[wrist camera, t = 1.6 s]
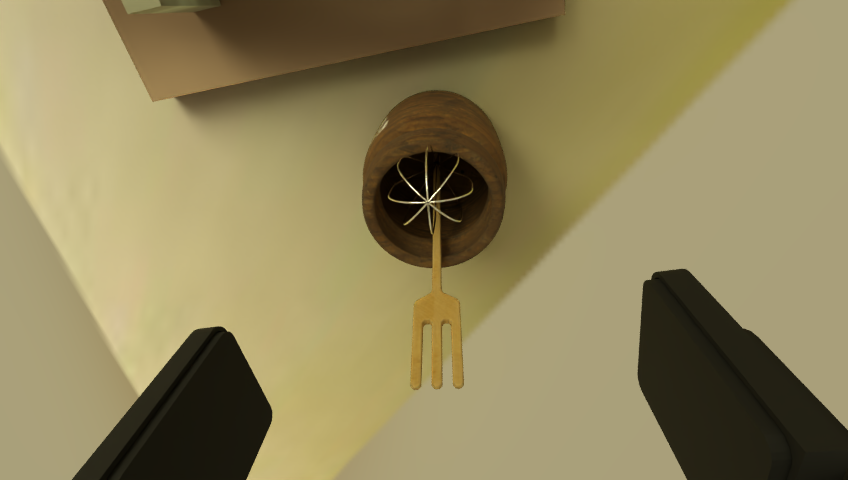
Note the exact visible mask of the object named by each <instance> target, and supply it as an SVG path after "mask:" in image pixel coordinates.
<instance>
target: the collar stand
mask: <svg viewBox="0 0 848 480" xmlns="http://www.w3.org/2000/svg"><path fill="white" fill-rule="evenodd" d="M103 2H104V4H105V6H106V8H107V10H108V12H109V14H110V16H111V19H112V21H113V23H114V25H115V27H116V29H117V31H118V33H119V35H120V37H121V39H122V41H123V43H124V45H125V47H126V49H127V51H128V53H129V55H130V57H131V59H132V61H133V63H134V65H135V67H136V69H137V71H138V73H139V75H140V77H141V79H142V81H143V83H144V85H145V87H146V89H147V91H148V93H149V95H150V97H151V99H152V101H153V102H154V101H158V100H163V99H168V98H173V97H177V96H182V95H187V94H192V93H196V92H201V91H206V90H210V89H215V88H220V87H225V86H229V85H234V84H239V83H244V82H248V81H253V80H258V79H262V78H267V77H272V76H277V75H281V74H286V73H291V72H296V71H300V70H305V69H310V68H314V67H319V66H324V65H329V64H333V63H338V62H343V61H348V60H352V59H357V58H362V57H366V56H371V55H376V54H381V53H385V52H390V51H395V50H400V49H404V48H409V47H414V46H418V45H423V44H428V43H433V42H437V41H442V40H447V39H452V38H456V37H461V36H466V35H470V34H475V33H480V32H485V31H489V30H494V29H499V28H504V27H508V26H513V25H518V24H522V23H527V22H532V21H537V20H541V19H546V18H551V17H556V16H560V15H565V0H103Z"/></svg>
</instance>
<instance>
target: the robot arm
mask: <svg viewBox="0 0 848 480" xmlns="http://www.w3.org/2000/svg"><path fill="white" fill-rule="evenodd" d="M640 328H641V329H640V343H639V344H640V345H639V359H638V361H639V362H638V380H639V385H640V387H641V390H642V392H643V394H644V396H645V398H646V400H647V402H648V404H649V406H650V408H651V410H652V412H653V413H654V416H655V418H656V420H657V422H658V424H659V425H660V427H661V429H662V431H663V433H664V435H665V437H666V439H667V441H668V443H669V445H670V447H671V449H672V451H673V452H674V454H675V457H676V459H677V461H678V463H679V464H680V466H681V468H682V470H683V472H684V474H685V476H686V478H687V480H848V430H847V429H846V428H845V427H844V426H843V425H842V424H841V423H840V422H839V421H838V420H837V419H836V418H835V416H834V415H833V414H832V413H831V412H830V411H829V410H828V409H827V408H826V407H825V406H824V405H823V404H822V403H821V402H820V401H819V400H818V399H817V398H816V397H815V396H814V395H813V394H812V393H811V392H810V390H809V389H808V388H807V387H806V386H805V385H804V384H803V383H802V382H801V381H800V380H799V379H798V378H797V377H796V376H795V375H794V374H793V373H792V372H791V371H790V370H789V369H788V368H787V367H786V366H785V364H784V363H783V362H782V361H781V360H780V359H779V358H778V357H777V356H776V355H775V354H774V353H773V352H772V351H771V350H770V349H769V348H768V347H767V346H766V345H765V344H764V343H763V342H762V341H761V340H760V339H759V337H757V336H756V335H755V334H754V333H752V332H751V331H749V330H746V329H743V328H742V327H741V326H740V325H739V324H738V323H737V322H736V321H735V320H734V319H733V318H732V317H731V315H730V314H729V313H728V312H727V311H726V310H725V309H724V308H723V307H722V306H721V305H720V304H719V303H718V302H717V301H716V299H715V298H714V297H713V296H712V295H711V294H710V293H709V292H708V291H707V290H706V289H705V288H704V287H703V286H702V285H701V283H700V282H699V281H698V280H697V279H696V278H695V277H694V276H693V275H692V274H691V273H690V272H689V271H688V270H686V269H677V270H669V271H661V272H655V273H654V274H653V275H652V279H651V280H646V281H645V282H644V284H643V296H642V311H641V327H640ZM271 421H272V409H271V406H270V404H269V402H268V400H267V399H266V397H265V395H264V393H263V391H262V389H261V387H260V385H259V383H258V381H257V379H256V378H255V376H254V374H253V372H252V370H251V368H250V366H249V364H248V362H247V360H246V358H245V357H244V355H243V353H242V351H241V349H240V347H239V345H238V343H237V341H236V339H235V337H234V336H233V334H232V333H230V332H227V331H226V329H225V328H223V327H219V326H218V327H210V328H202V329H197V330H195V331H193V332H192V333H191V334H190V336H189V337H188V338H187V339H186V340H185V342H184V343H183V344H182V345H181V347H180V348H179V349H178V350H177V351H176V353H175V354H174V355H173V356H172V358H171V359H170V360H169V361H168V363H167V364H166V365H165V366H164V367H163V369H162V370H161V371H160V372H159V374H158V375H157V376H156V377H155V378H154V380H153V381H152V382H151V383H150V385H149V386H148V387H147V388H146V389H145V391H144V392H143V393H142V394H141V396H140V397H139V398H138V399H137V401H136V402H135V403H134V404H133V405H132V407H131V408H130V409H129V410H128V412H127V413H126V414H125V415H124V417H123V418H122V419H121V420H120V421H119V423H118V424H117V425H116V426H115V427H114V429H113V430H112V431H111V432H110V434H109V435H108V436H107V437H106V439H105V440H104V441H103V442H102V444H101V445H100V446H99V447H98V448H97V449H96V451H95V452H94V453H93V454H92V456H91V457H90V458H89V459H88V461H87V462H86V463H85V464H84V465H83V467H82V468H81V469H80V470H79V472H78V473H77V474H76V475H75V477H74V478H73V479H72V480H246V479H247V477H248V474H249V472H250V470H251V468H252V465H253V463H254V461H255V458H256V456H257V454H258V452H259V449H260V447H261V445H262V443H263V440H264V438H265V436H266V433H267V431H268V429H269V427H270V424H271Z"/></svg>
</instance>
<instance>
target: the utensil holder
mask: <svg viewBox="0 0 848 480" xmlns="http://www.w3.org/2000/svg"><path fill="white" fill-rule="evenodd" d="M506 186H507V167H506V161H505V157H504V153H503V150H502V147H501V144H500V141H499V139H498V136H497V134H496V132H495V129H494V127H493V125H492V124H491V122H490V120H489V119H488V117H487V116H486V114H485V113H484V112H483V111H482V110H481V109H480V108H479V107H478V106H477V105H476V104H474V103H473V102H472V101H470V100H469V99H467V98H465V97H463V96H461V95H458V94H456V93H452V92H448V91H426V92H421V93H418V94H415V95H413V96H411V97H409V98H407V99H405V100H403V101H402V102H400V103H399V104H398V105H397V106H396V107H394V108H393V109H392V110H391V111H390V113H389V114H388V115H387V116H386V118H385V119H384V121H383V122H382V124H381V125H380V127H379V129H378V131H377V132H376V134H375V136H374V138H373V140H372V142H371V144H370V147H369V149H368V152H367V155H366V159H365V163H364V169H363V190H362V206H363V214H364V218H365V221H366V224H367V227H368V229H369V231H370V233H371V234H372V236H373V237H374V239H375V240H376V241H377V243H378V244H379V245H380V246H381V247H382V248H383V249H384V250H385V251H387V252H388V253H389V254H391V255H392V256H394V257H395V258H397V259H399V260H401V261H403V262H405V263H408V264H411V265H414V266H419V267H425V268H432V291H431V293H430V294H428V295H426V296H424V297H422V298H421V299H419V300H417V301H416V302H415V304H414V314H413V337H412V360H411V383H410V385H411V387H412V389H414V390H418V389H419V388H420V387H421V375H422V344H423V326H424V325H426V324H431V325H432V386H433V388H434V389H440V388H441V387H442V326H443V324H445V323H449V324H450V325H451V335H452V367H453V385H454V387H455V388H458V389H460V388H462V387H463V385H464V379H463V378H464V377H463V357H462V337H461V317H460V302H459V301H458V299H456V298H454V297H452V296H449V295H447V294H445V293H443V292H442V286H441V268H443V267H449V266H454V265H457V264H460V263H463V262H465V261H467V260H469V259H471V258H473V257H474V256H476V255H477V254H479V253H480V252H481V251H482V250H483V249H485V248H486V247H487V246H488V245H489V243H490V242H491V241H492V240H493V238H494V237H495V235H496V233H497V231H498V229H499V227H500V225H501V222H502V218H503V214H504V208H505V192H506Z"/></svg>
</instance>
